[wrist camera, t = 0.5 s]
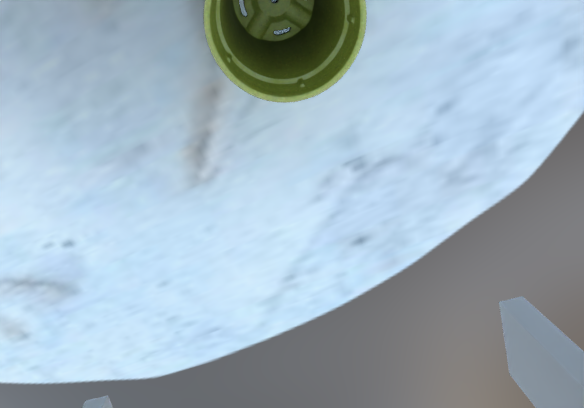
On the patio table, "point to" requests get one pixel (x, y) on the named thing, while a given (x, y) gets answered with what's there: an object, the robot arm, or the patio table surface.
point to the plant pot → (285, 44)
